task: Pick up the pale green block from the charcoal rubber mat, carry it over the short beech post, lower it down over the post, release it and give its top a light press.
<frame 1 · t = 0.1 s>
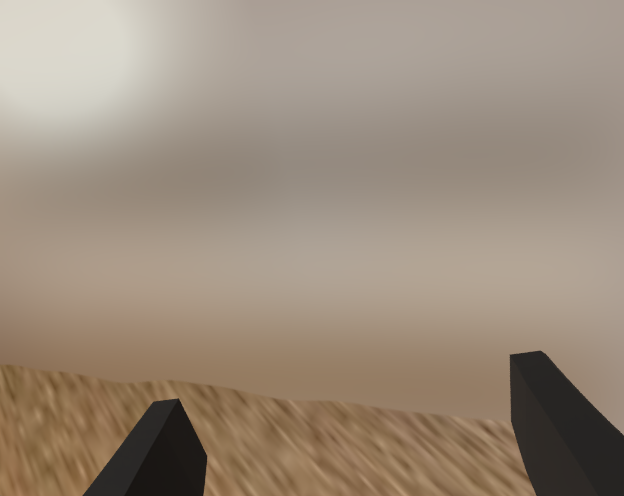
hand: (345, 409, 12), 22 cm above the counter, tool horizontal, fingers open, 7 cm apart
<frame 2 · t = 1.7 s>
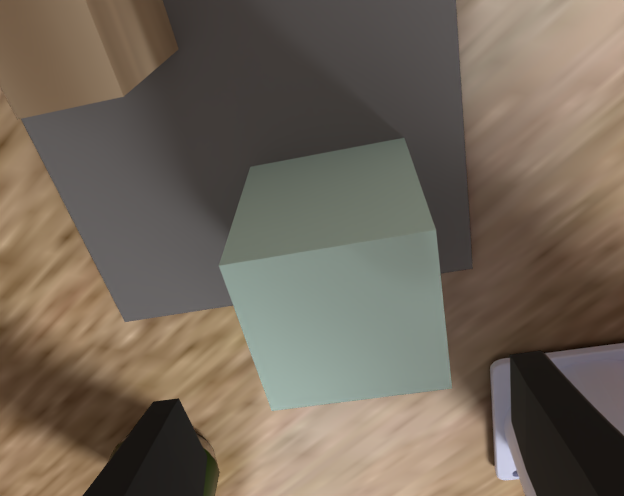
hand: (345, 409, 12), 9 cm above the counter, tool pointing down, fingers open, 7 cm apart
beech post: (121, 12, 15), resting on rubber mat
pale green block: (339, 219, 19), resting on rubber mat
beer can: (170, 452, 27), on the counter
rubber mat: (243, 122, 17), on the counter
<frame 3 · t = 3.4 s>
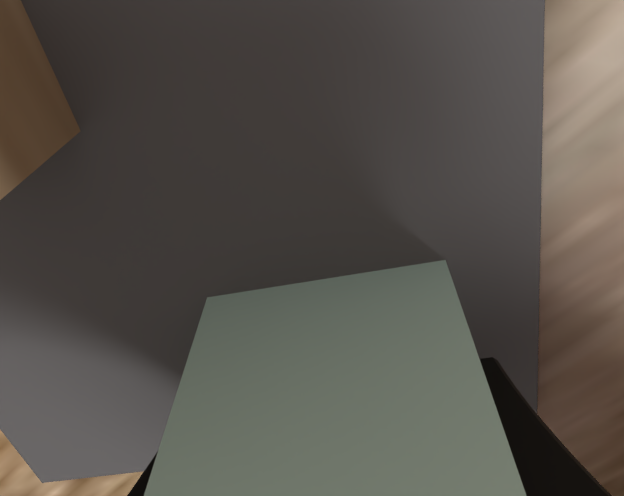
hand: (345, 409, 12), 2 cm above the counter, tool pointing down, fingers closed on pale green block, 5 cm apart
pale green block: (344, 366, 13), resting on rubber mat, touching gripper
rubber mat: (194, 233, 11), on the counter
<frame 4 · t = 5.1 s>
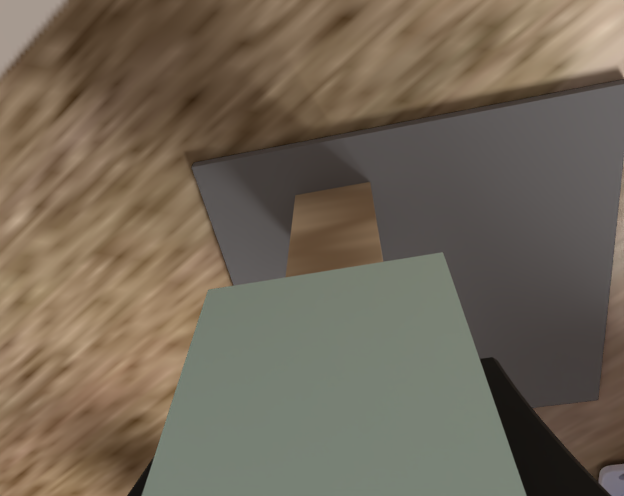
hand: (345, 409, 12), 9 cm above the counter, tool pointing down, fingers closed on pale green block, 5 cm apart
beech post: (339, 221, 19), resting on rubber mat
pale green block: (343, 358, 13), point 7 cm above the counter, touching gripper
rubber mat: (419, 292, 21), on the counter
when the fingers open (3 cm above the counter, at t = 7.3 s): pale green block drops 1 cm, resting on rubber mat.
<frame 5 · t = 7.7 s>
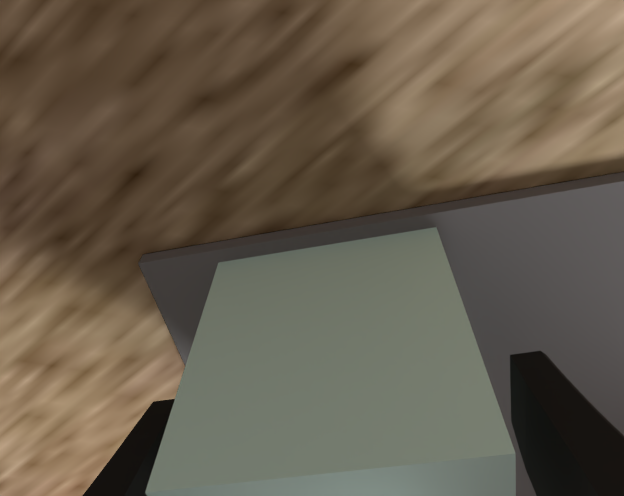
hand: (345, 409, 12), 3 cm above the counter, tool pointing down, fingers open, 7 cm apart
pale green block: (343, 328, 14), resting on rubber mat
rubber mat: (448, 409, 16), on the counter
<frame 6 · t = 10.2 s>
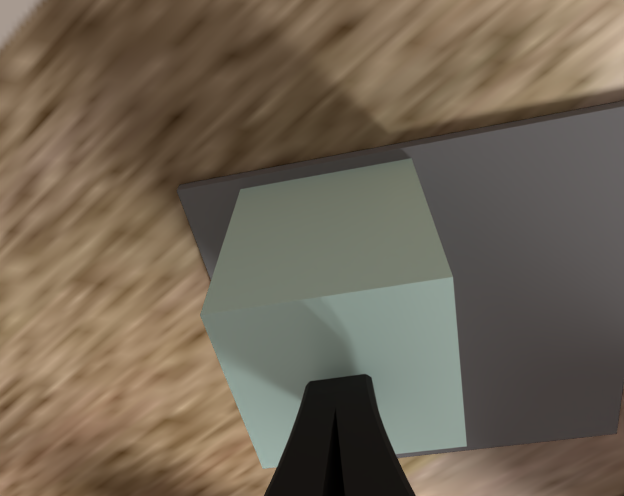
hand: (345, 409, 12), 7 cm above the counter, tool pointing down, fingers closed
pale green block: (339, 246, 17), resting on rubber mat
rubber mat: (426, 322, 19), on the counter
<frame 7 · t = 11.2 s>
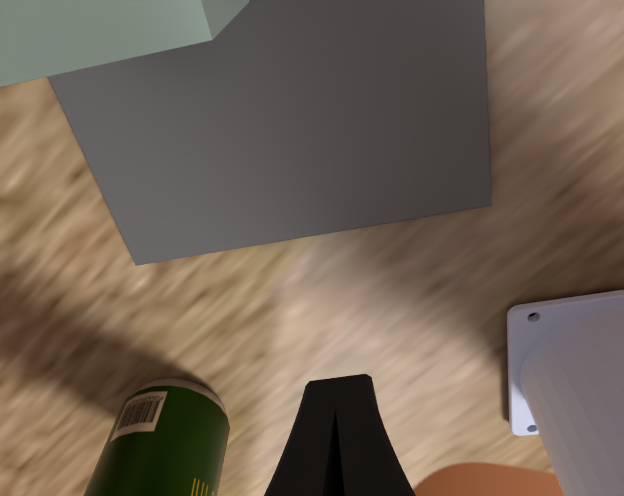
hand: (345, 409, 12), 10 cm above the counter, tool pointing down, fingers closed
beer can: (179, 408, 27), on the counter
rubber mat: (259, 48, 17), on the counter
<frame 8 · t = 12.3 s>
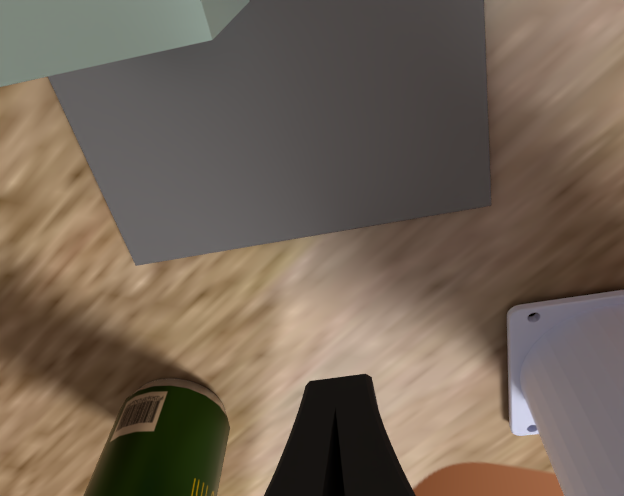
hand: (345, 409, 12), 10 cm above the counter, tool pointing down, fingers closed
beer can: (179, 408, 27), on the counter
rubber mat: (259, 48, 17), on the counter
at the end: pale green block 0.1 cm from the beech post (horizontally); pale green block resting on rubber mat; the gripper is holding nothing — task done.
